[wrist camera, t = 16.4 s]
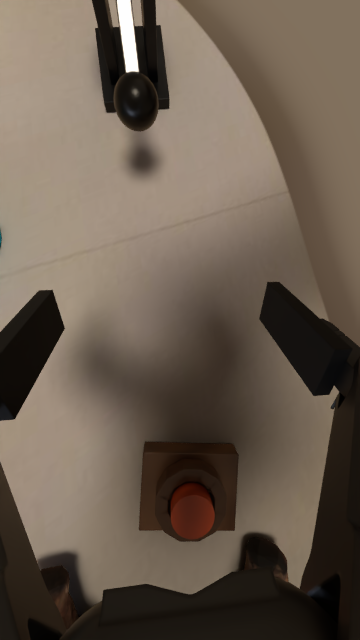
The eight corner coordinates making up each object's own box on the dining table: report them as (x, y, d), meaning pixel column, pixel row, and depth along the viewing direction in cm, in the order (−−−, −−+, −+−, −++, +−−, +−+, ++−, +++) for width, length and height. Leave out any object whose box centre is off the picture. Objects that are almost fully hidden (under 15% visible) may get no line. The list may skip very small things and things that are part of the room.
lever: (160, 135, 22) (161, 121, 18) (121, 137, 22) (115, 125, 18) (135, -130, 16) (130, -219, 12) (79, -130, 15) (60, -220, 12)
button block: (232, 443, 27) (244, 464, 23) (229, 513, 27) (240, 547, 23) (144, 441, 26) (141, 462, 22) (141, 513, 26) (136, 547, 22)
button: (212, 482, 23) (216, 495, 21) (210, 523, 23) (213, 539, 21) (171, 481, 23) (172, 495, 21) (169, 523, 23) (169, 539, 21)
